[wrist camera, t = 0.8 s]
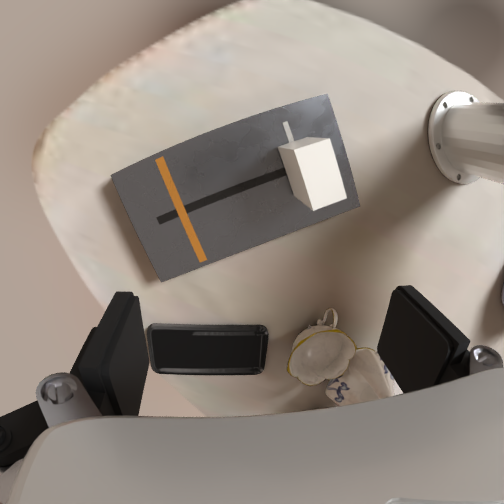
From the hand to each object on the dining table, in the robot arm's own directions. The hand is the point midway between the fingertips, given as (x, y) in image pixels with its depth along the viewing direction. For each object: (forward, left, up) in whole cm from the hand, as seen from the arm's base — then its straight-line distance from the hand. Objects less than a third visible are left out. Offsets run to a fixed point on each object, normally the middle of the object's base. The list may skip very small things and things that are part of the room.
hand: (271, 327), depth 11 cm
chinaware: (-5, +30, -24) cm, 39 cm away
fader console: (-1, -1, -23) cm, 24 cm away
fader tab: (-7, -1, -20) cm, 21 cm away
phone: (+10, +17, -24) cm, 31 cm away
